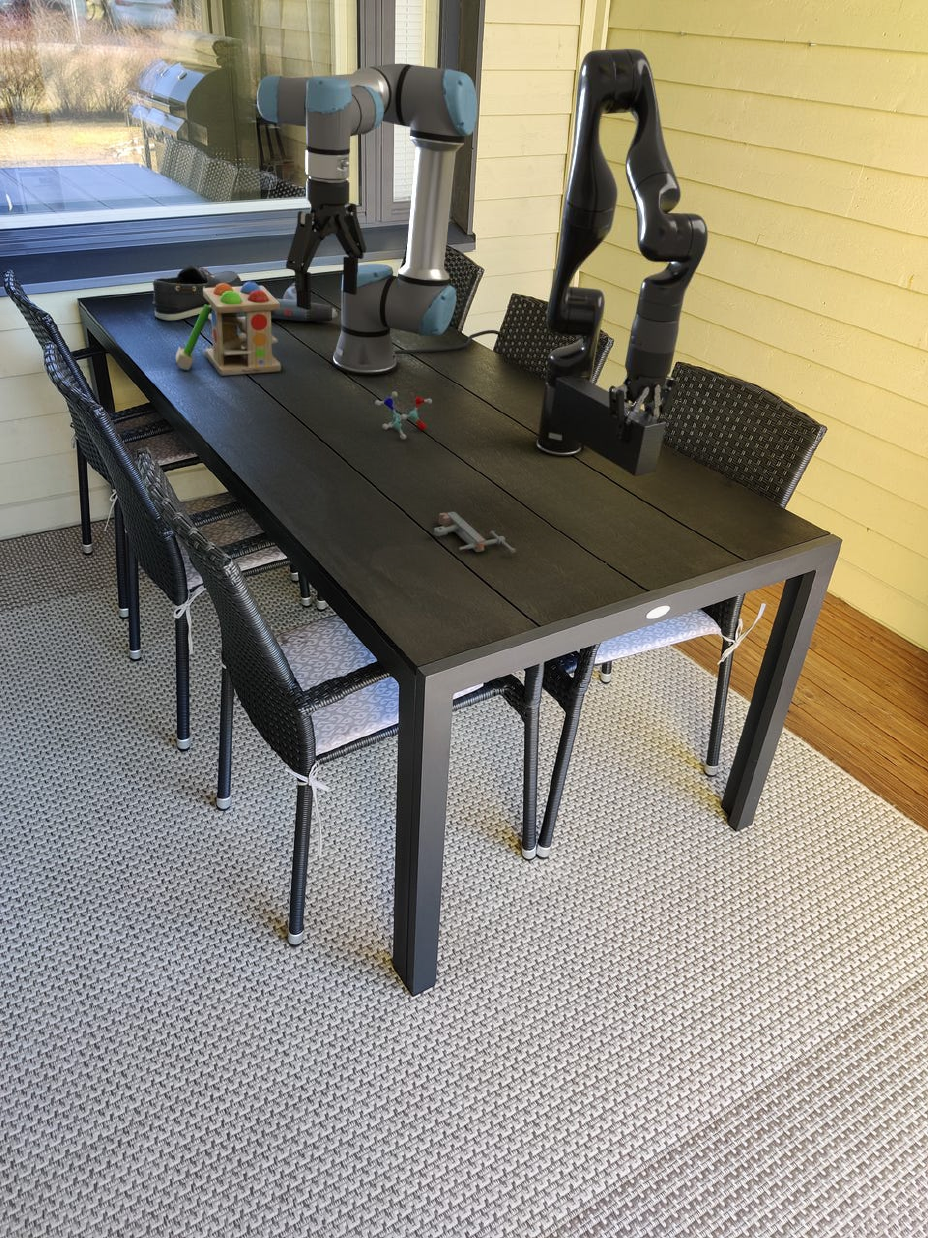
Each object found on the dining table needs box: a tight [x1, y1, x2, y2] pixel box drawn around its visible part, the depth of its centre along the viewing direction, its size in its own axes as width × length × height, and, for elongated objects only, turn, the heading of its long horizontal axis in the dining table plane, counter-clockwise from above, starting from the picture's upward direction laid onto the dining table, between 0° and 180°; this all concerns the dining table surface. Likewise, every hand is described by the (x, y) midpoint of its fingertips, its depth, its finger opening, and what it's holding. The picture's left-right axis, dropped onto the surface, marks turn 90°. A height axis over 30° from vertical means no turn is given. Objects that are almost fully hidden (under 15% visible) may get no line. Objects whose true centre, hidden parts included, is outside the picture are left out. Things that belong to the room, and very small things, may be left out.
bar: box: [550, 374, 667, 477], centre depth 174 cm, size 24×5×9 cm, turn 34°
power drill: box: [271, 282, 338, 322], centre depth 265 cm, size 5×19×20 cm
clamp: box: [433, 511, 516, 555], centre depth 170 cm, size 15×2×10 cm
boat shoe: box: [151, 264, 243, 321], centre depth 263 cm, size 13×33×10 cm, turn 147°
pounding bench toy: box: [174, 281, 282, 377], centre depth 225 cm, size 23×14×18 cm, turn 116°
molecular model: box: [374, 391, 433, 441], centre depth 205 cm, size 12×10×10 cm
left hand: (327, 300), depth 183 cm, fingers open, 13 cm apart
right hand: (633, 439), depth 169 cm, fingers closed on bar, 5 cm apart
